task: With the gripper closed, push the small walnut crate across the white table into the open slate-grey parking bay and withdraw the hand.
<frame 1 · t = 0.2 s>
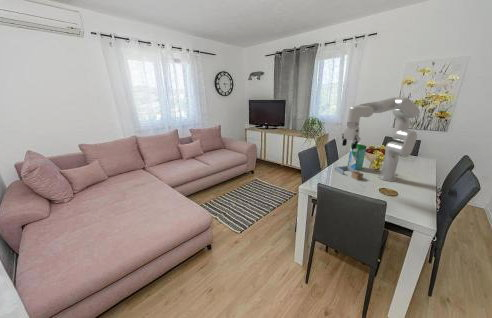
hand: (348, 147, 146), 31 cm above the table, fingers open, 9 cm apart
bay: (345, 171, 180), on the table
milk carton: (354, 168, 189), on the table
crate: (356, 178, 167), on the table
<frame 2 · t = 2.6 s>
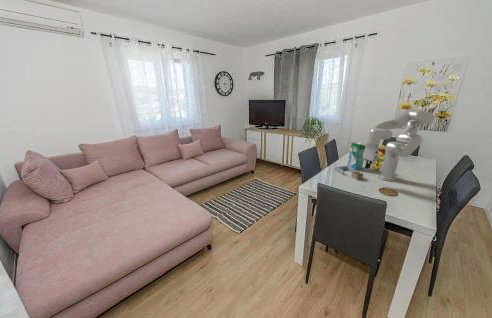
hand: (367, 168, 155), 13 cm above the table, fingers closed
nothing on the table moved.
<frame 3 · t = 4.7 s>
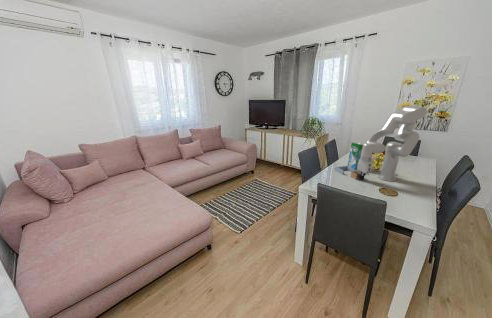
hand: (361, 179, 162), 1 cm above the table, fingers closed
crate: (355, 177, 168), on the table, touching gripper
everything else where it was.
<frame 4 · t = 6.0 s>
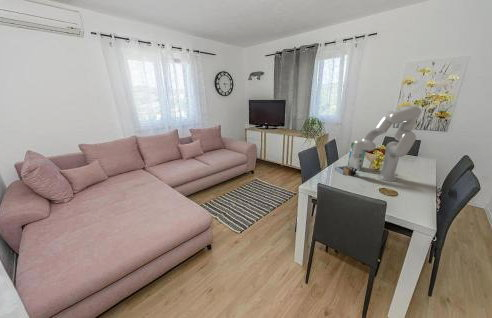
hand: (352, 174, 171), 1 cm above the table, fingers closed
crate: (347, 173, 176), on the table, touching gripper
everything else where it was.
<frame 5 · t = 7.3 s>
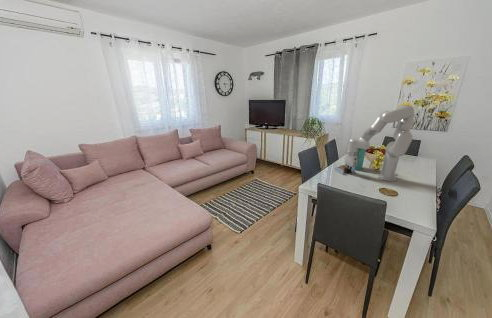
hand: (348, 172, 176), 1 cm above the table, fingers closed
crate: (343, 171, 181), on the table, touching bay, gripper
everything else where it was.
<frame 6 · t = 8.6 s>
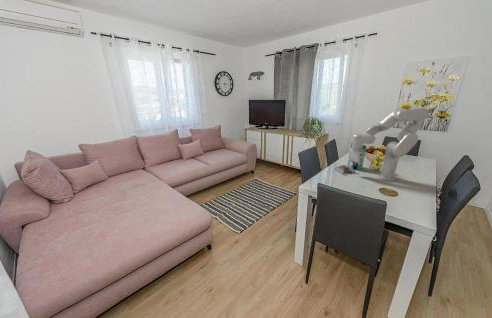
hand: (354, 169, 170), 6 cm above the table, fingers closed
crate: (343, 171, 181), on the table
everything else where it was.
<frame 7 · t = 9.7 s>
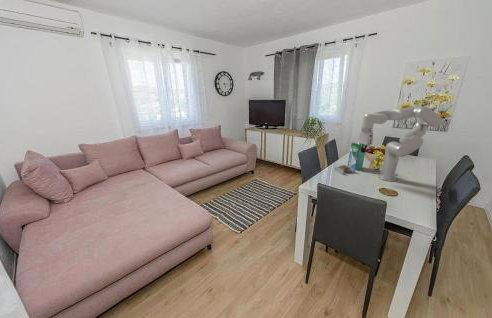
hand: (363, 152, 160), 23 cm above the table, fingers closed
nothing on the table moved.
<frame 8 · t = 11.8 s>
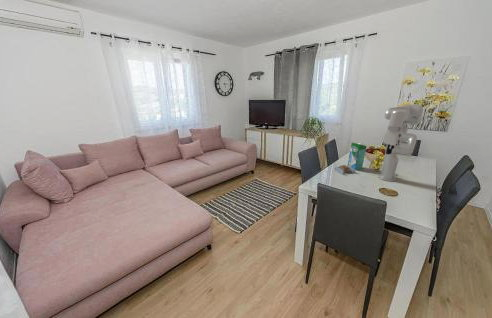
hand: (388, 153, 142), 27 cm above the table, fingers closed
nothing on the table moved.
at the end: crate 1.2 cm off-centre on the bay, point 0.0 cm above the bay's base; crate tilted 0°; the gripper is holding nothing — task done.
